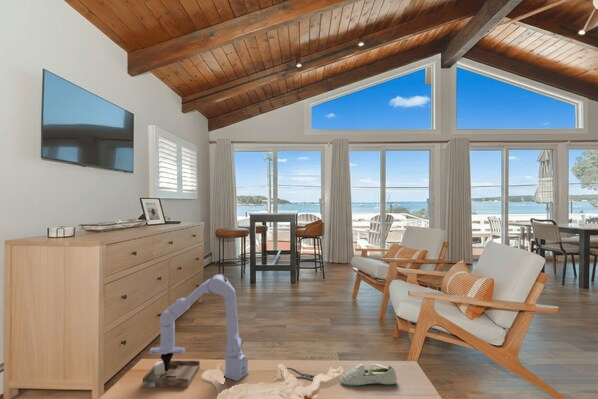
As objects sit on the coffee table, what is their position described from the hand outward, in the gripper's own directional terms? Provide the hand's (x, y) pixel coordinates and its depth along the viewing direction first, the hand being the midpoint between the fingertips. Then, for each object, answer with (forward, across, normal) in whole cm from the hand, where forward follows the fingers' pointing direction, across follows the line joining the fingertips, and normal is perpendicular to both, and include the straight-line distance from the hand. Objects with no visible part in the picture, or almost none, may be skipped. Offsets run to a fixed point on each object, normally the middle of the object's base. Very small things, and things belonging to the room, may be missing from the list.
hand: (167, 370), depth 142 cm
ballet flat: (+4, +86, -3) cm, 87 cm away
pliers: (+4, +57, +3) cm, 57 cm away
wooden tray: (+3, +2, 0) cm, 4 cm away
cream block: (+1, -2, 0) cm, 3 cm away
